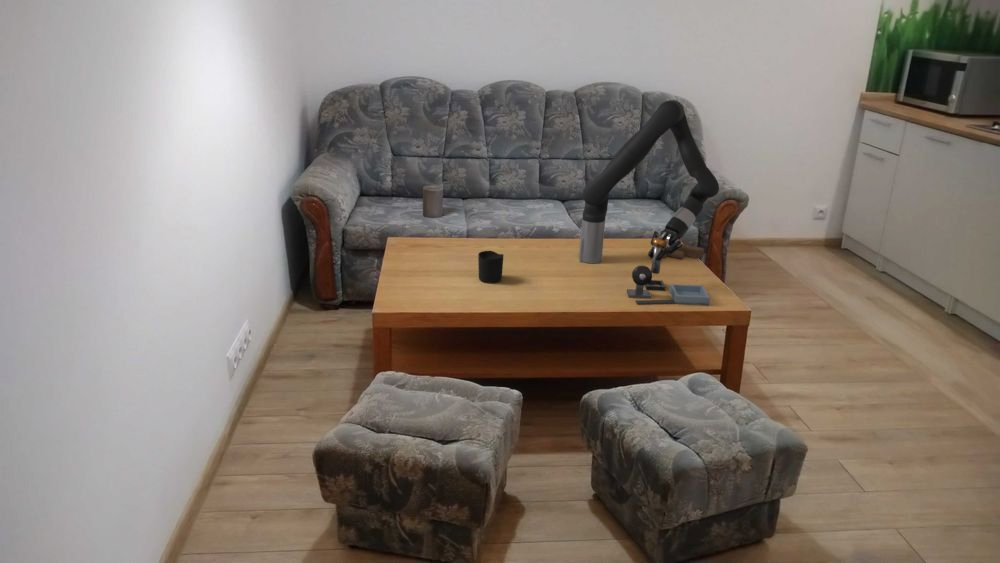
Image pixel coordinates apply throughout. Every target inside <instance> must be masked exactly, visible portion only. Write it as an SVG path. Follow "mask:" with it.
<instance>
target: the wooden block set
mask: <svg viewBox="0 0 1000 563" xmlns="http://www.w3.org/2000/svg"><path fill="white" fill-rule="evenodd" d="M682 244H683V246H682V247H680V248H679V249H677V250H676V251H675V252H673V253H672V254H669V253H667V254H665V255H664V256H663V258H662V259H667V257H669V256H670V258H673V259H674V258H675V259H678V258H679V260H683V259H684V258H685V256H686V258H691V259H694V258H695V259H696V258H697V259H702V258H703V257H704V253H705V249H704V248H703V247H698V246H693V245H690V244H686V243H683V242H682ZM672 249H673V248H672ZM672 249H671V250H672ZM652 259H653V257H652V258H650V257H649V260H652Z"/></svg>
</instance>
